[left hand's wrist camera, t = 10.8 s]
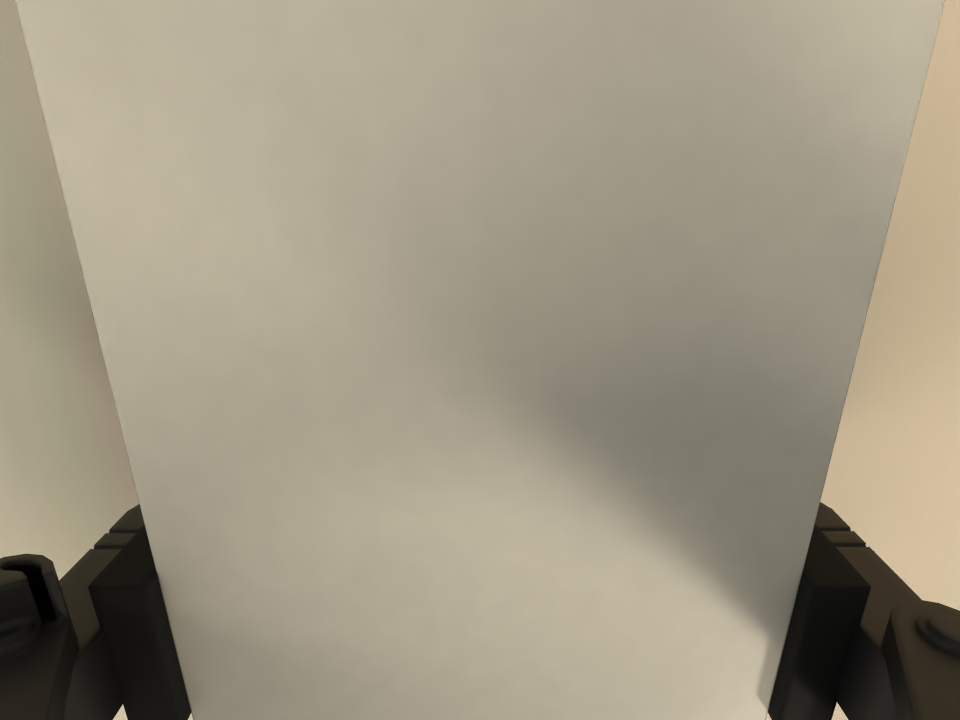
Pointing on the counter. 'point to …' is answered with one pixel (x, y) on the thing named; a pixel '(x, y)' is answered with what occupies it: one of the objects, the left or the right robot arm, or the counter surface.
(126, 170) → the wide beam
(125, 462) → the counter surface
